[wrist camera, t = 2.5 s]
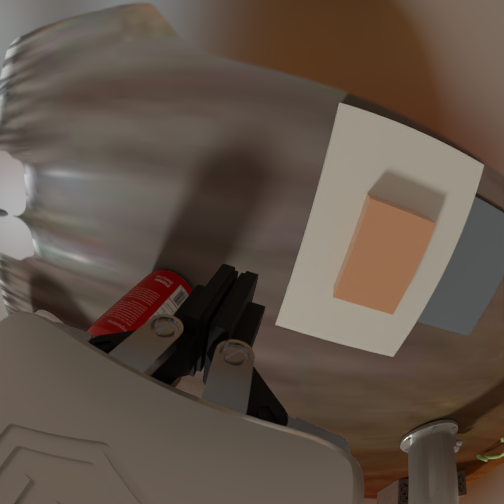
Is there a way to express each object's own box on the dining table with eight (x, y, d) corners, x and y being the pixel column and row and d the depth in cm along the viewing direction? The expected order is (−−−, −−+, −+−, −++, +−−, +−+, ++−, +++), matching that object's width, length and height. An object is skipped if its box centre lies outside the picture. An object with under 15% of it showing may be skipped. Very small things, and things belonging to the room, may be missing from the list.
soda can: (210, 294, 34) (147, 381, 21) (183, 325, 38) (126, 401, 25) (162, 254, 34) (80, 322, 20) (141, 290, 37) (73, 355, 24)
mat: (523, 226, 19) (524, 226, 19) (467, 334, 26) (468, 335, 26) (458, 187, 21) (460, 188, 21) (401, 316, 28) (401, 317, 28)
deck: (465, 160, 20) (484, 165, 16) (388, 334, 30) (392, 356, 26) (337, 107, 22) (339, 102, 18) (282, 303, 32) (275, 324, 28)
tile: (428, 216, 20) (436, 223, 18) (389, 302, 24) (392, 314, 22) (366, 193, 21) (370, 198, 19) (333, 285, 25) (333, 297, 23)
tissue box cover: (464, 469, 41) (466, 494, 32) (440, 485, 47) (440, 507, 38) (398, 478, 47) (397, 507, 38) (377, 491, 53) (375, 517, 44)
